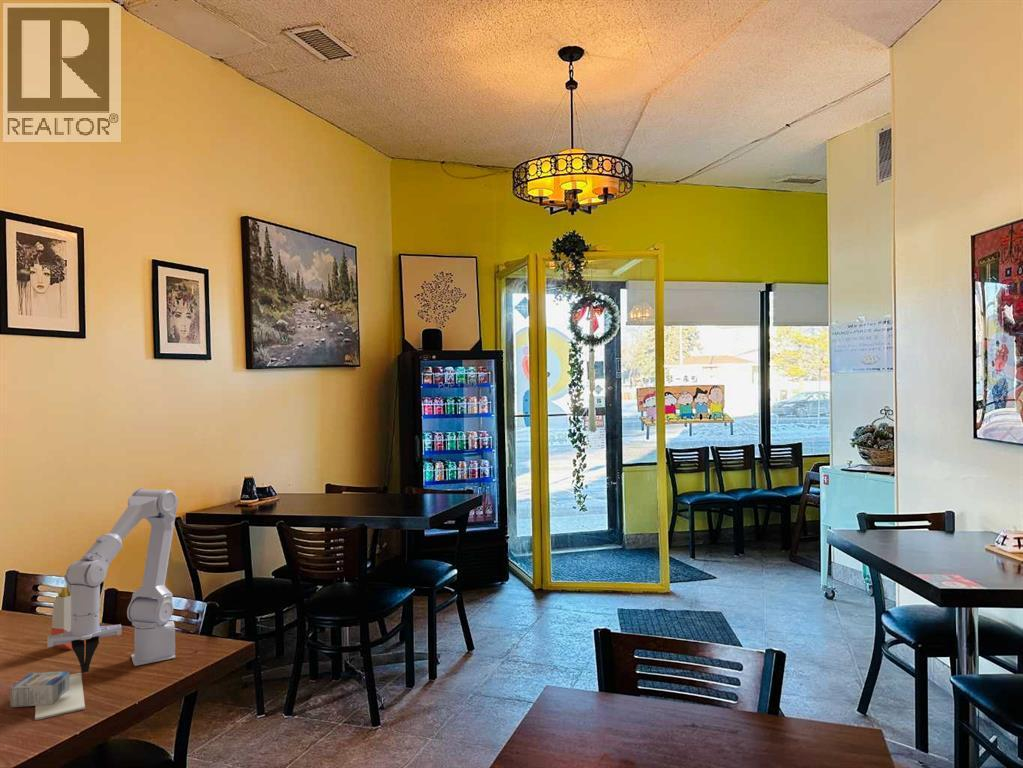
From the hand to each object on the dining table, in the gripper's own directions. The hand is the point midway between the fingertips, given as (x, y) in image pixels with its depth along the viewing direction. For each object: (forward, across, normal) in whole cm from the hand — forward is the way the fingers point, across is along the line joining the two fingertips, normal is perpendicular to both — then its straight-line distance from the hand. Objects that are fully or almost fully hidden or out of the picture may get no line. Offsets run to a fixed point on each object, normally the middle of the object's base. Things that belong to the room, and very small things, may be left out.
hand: (84, 671), depth 157 cm
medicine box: (+2, -4, -1) cm, 5 cm away
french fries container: (+5, -1, +36) cm, 36 cm away
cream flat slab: (+5, -5, +1) cm, 7 cm away
